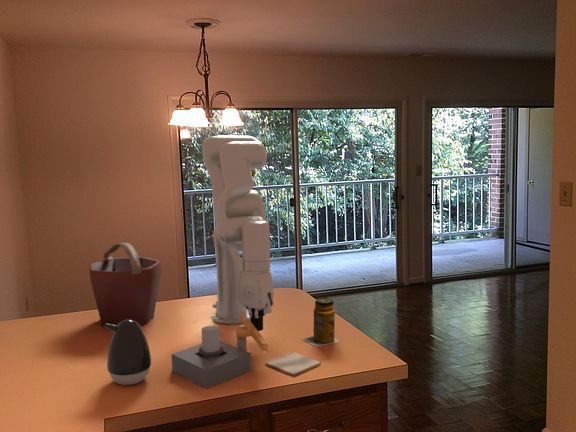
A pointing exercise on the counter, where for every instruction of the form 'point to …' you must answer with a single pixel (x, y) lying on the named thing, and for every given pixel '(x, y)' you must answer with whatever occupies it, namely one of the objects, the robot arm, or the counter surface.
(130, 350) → the pump dispenser
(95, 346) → the counter surface
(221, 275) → the robot arm
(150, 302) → the bucket
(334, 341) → the condiment
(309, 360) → the pad
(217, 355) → the plug
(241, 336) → the knobbed wooden stick
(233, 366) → the socket block
